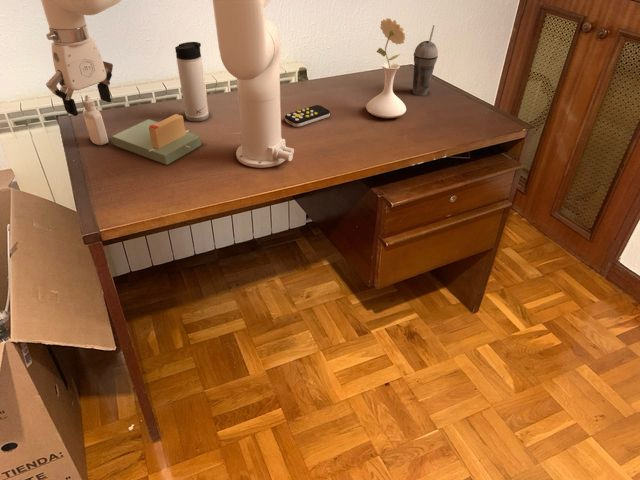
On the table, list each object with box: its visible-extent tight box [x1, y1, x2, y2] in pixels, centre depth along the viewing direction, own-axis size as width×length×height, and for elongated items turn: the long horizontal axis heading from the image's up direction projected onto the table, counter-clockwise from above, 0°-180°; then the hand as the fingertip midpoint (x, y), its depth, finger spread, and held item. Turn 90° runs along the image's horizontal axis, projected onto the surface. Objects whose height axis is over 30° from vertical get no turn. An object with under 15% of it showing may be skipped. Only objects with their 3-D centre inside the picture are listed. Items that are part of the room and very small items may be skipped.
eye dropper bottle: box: [82, 94, 109, 146], centre depth 120 cm, size 4×6×12 cm
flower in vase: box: [365, 17, 407, 119], centre depth 133 cm, size 13×11×25 cm
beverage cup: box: [412, 24, 439, 96], centre depth 147 cm, size 7×7×20 cm
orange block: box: [149, 113, 186, 149], centre depth 117 cm, size 9×2×5 cm, turn 149°
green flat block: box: [111, 118, 202, 166], centre depth 121 cm, size 20×13×3 cm, turn 59°
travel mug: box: [174, 41, 210, 123], centre depth 130 cm, size 6×7×20 cm
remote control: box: [284, 104, 331, 128], centre depth 136 cm, size 6×13×2 cm, turn 130°
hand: (90, 107), depth 119 cm, fingers open, 9 cm apart
